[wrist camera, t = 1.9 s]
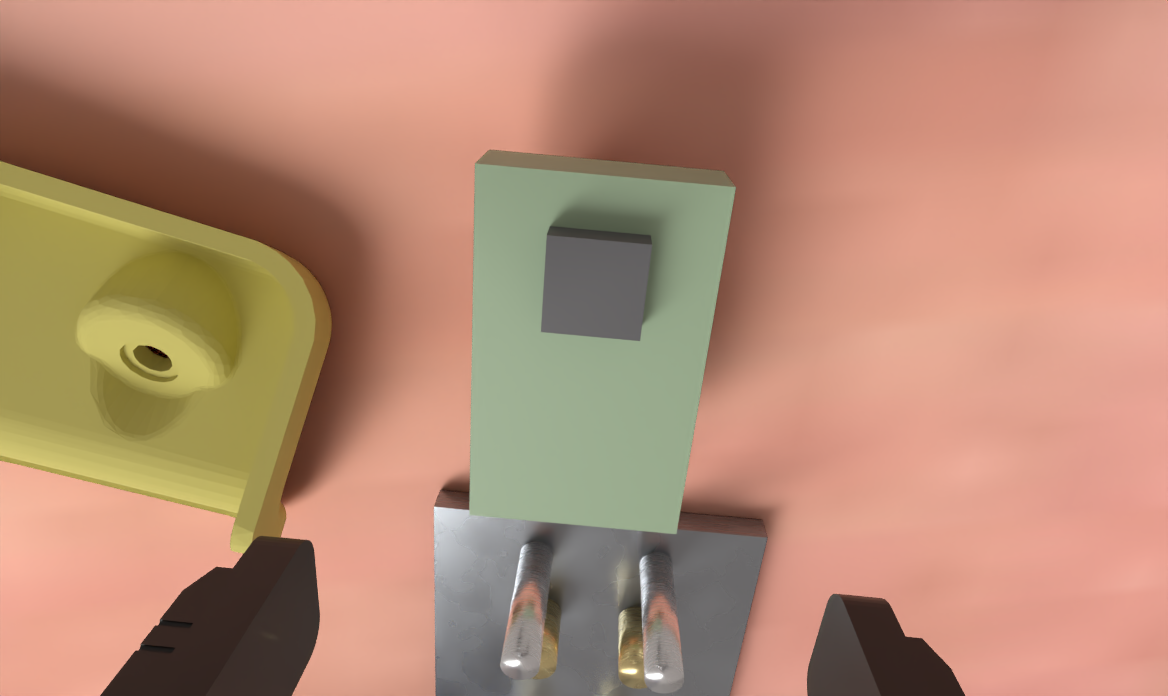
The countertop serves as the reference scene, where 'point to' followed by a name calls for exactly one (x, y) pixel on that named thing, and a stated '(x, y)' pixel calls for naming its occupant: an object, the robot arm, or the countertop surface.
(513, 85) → the countertop surface
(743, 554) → the chassis
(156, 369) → the plastic component
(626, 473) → the board
